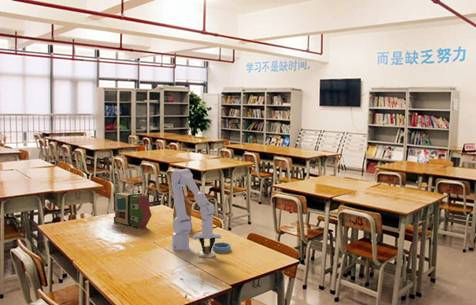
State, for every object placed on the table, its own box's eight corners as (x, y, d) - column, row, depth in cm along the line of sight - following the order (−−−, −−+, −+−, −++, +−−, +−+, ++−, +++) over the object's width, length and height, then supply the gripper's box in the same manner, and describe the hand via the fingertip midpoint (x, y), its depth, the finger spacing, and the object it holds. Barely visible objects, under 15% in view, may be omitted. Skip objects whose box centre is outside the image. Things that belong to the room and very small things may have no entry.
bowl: (213, 253, 235) (213, 248, 234) (211, 247, 244) (211, 242, 244) (231, 253, 236) (231, 247, 236) (228, 247, 246) (228, 242, 245)
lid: (199, 258, 226) (199, 249, 225) (197, 252, 235) (197, 244, 234) (216, 257, 227) (216, 249, 227) (214, 251, 236) (214, 243, 236)
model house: (109, 192, 287) (141, 197, 270) (120, 190, 294) (151, 195, 277) (110, 223, 288) (141, 231, 271) (120, 221, 296) (151, 228, 279)
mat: (199, 258, 226) (199, 258, 226) (197, 253, 235) (197, 252, 235) (216, 258, 228) (216, 257, 227) (213, 252, 236) (213, 251, 236)
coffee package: (184, 224, 292) (185, 191, 290) (192, 228, 281) (193, 195, 279) (170, 225, 287) (171, 192, 284) (178, 230, 276) (179, 196, 274)
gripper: (194, 229, 224) (193, 254, 226) (222, 228, 227) (221, 253, 228) (193, 225, 231) (192, 250, 233) (220, 225, 234) (219, 249, 235)
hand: (206, 251), depth 231 cm, fingers closed on lid, 3 cm apart
